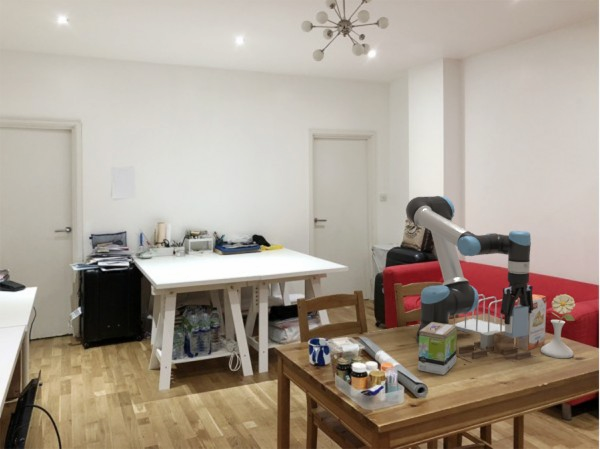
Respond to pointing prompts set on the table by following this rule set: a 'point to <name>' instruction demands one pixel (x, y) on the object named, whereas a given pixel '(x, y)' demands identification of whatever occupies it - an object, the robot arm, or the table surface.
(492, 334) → the offcut grey
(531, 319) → the cracker box
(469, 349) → the stand
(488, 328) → the file sorter
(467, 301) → the robot arm
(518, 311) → the panel
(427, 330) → the tea box
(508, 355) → the rack
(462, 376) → the table surface
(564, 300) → the flower in vase
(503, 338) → the offcut brown
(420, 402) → the table surface
